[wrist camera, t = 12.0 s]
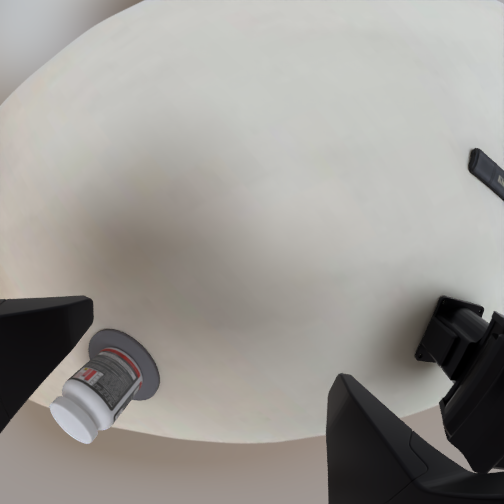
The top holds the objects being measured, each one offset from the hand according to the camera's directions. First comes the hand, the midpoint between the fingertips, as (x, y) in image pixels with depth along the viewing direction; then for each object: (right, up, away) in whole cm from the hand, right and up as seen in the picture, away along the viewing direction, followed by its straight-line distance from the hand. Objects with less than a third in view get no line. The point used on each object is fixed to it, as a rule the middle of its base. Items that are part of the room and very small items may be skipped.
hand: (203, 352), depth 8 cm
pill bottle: (-12, -9, +16) cm, 22 cm away
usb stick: (+25, +10, +9) cm, 29 cm away
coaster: (-12, -9, +17) cm, 23 cm away
